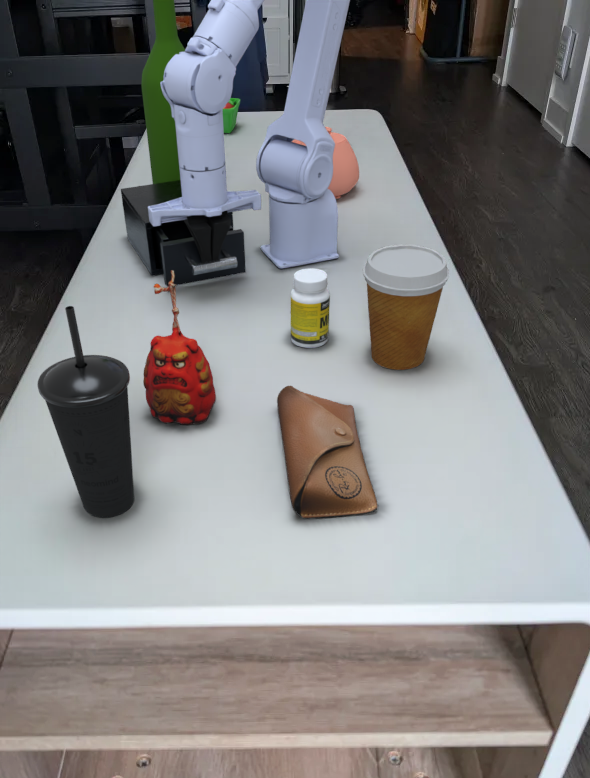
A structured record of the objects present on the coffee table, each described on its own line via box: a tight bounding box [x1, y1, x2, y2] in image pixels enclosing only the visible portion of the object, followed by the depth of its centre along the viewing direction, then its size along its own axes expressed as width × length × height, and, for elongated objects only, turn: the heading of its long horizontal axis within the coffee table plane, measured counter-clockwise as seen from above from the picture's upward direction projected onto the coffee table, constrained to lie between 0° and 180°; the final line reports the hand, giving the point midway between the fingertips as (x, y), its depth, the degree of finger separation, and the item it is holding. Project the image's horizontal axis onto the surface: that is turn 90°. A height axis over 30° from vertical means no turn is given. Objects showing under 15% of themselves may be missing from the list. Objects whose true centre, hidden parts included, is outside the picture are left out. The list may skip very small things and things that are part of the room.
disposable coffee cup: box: [362, 244, 451, 371], centre depth 91 cm, size 10×10×12 cm
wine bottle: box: [140, 0, 186, 184], centre depth 121 cm, size 9×9×32 cm
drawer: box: [152, 222, 247, 288], centre depth 111 cm, size 18×11×6 cm, turn 21°
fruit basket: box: [222, 97, 241, 134], centre depth 163 cm, size 11×9×11 cm
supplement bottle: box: [290, 267, 331, 349], centre depth 96 cm, size 5×5×8 cm
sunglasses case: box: [276, 385, 379, 519], centre depth 79 cm, size 18×7×7 cm
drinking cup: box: [37, 305, 135, 518], centre depth 69 cm, size 8×8×20 cm
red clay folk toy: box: [143, 270, 217, 426], centre depth 82 cm, size 8×7×15 cm
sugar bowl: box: [292, 126, 360, 200], centre depth 134 cm, size 12×14×10 cm
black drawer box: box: [120, 180, 234, 277], centre depth 118 cm, size 15×13×8 cm
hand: (209, 269), depth 107 cm, fingers closed, pressing on drawer
